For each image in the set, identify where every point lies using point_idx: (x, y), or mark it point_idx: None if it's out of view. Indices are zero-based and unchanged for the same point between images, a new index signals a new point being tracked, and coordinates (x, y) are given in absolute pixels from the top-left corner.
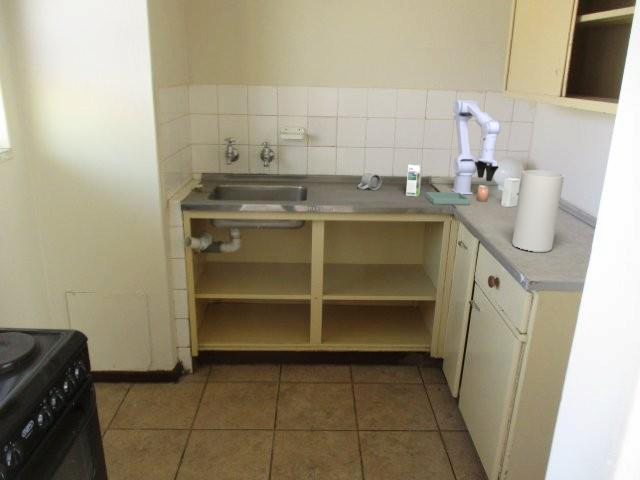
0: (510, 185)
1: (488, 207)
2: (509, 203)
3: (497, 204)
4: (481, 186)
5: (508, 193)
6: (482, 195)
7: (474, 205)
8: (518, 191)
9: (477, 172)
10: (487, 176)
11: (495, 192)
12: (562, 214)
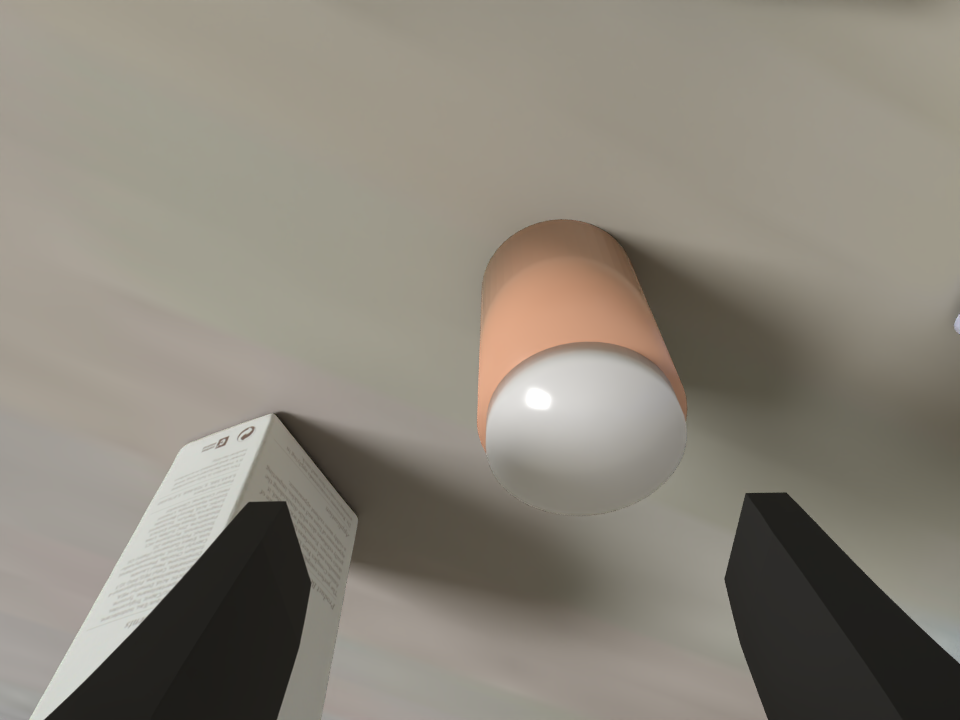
0: (42, 715)
1: (119, 196)
2: (166, 483)
3: (329, 392)
4: (531, 377)
5: (124, 577)
6: (489, 306)
7: (216, 4)
8: None
9: (896, 605)
10: (154, 614)
11: (920, 605)
12: (23, 699)
